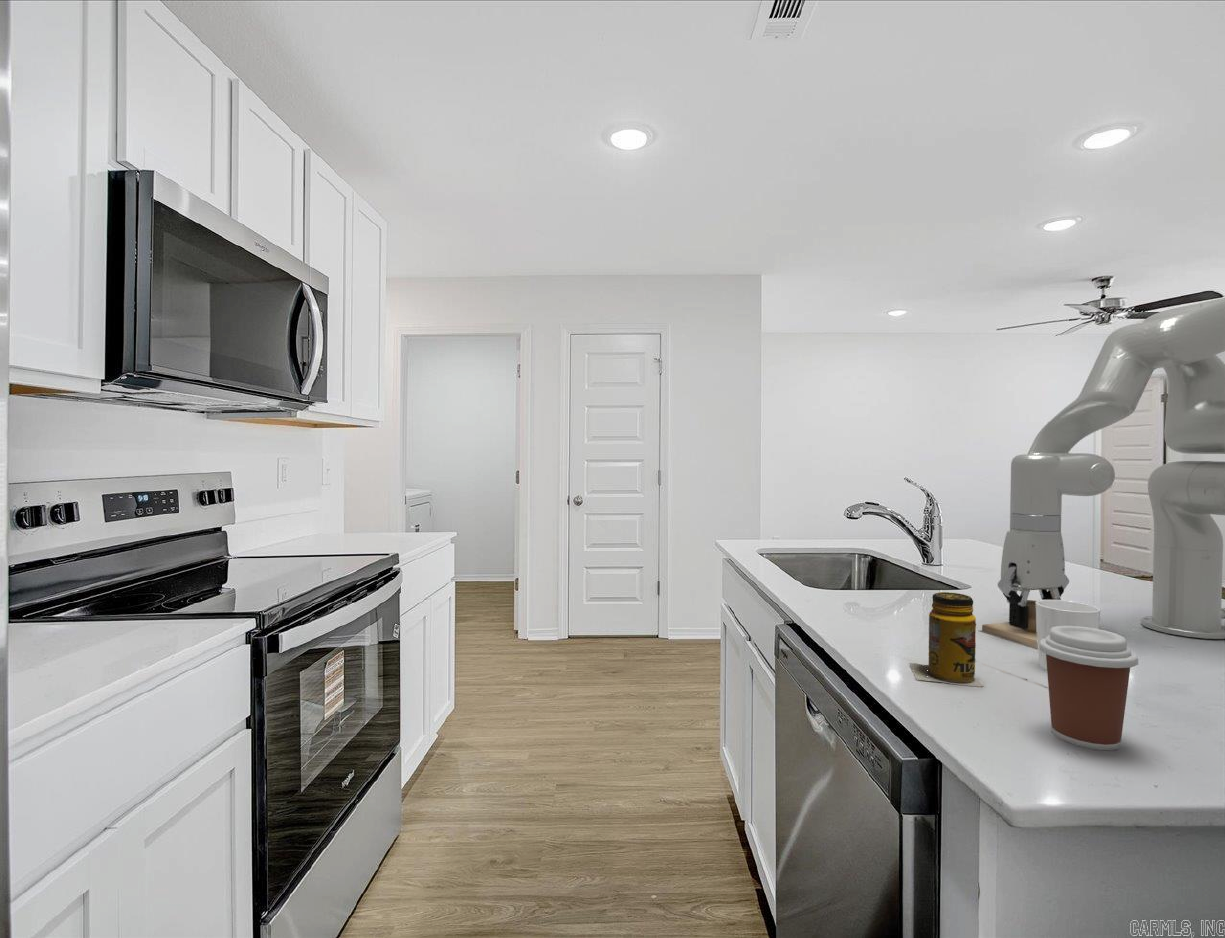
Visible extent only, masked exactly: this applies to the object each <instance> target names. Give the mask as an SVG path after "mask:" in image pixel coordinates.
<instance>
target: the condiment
mask: <svg viewBox="0 0 1225 938" xmlns="http://www.w3.org/2000/svg"><path fill="white" fill-rule="evenodd" d="M931 598H932V603H931V607H932V609H931V611H930V612H929V616H928V664H921V663H916V662H909V666H910V668H911V671H912V670H914V671H912V673H914V674H913V676H914V677H915V678H916V681H925V682H935V683H946V684H949V685H950V684H951V685H957V686H958V685H959V686H969V687H971V686H972V687H978V688H979V687H980V688H981V687H984V685H983V684H982V683H981V682H980V680H979V679H978V678H977V677H976V675H975V674H976V670H975V669H976V646H977V645H976V635H977V634H976V633H977V632H976V626H977V623H976V621H977V619H976V617H975V615H974V614H973V613H974V599H973V598H972V597H971V596H970V595H967V594H963V593H959V592H946V591H943V592H941V591H940V592H935V593H934V594H932V596H931ZM927 670H928V671H927ZM927 676H928V677H927Z"/></svg>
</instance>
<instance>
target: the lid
mask: <svg viewBox="0 0 1225 938" xmlns="http://www.w3.org/2000/svg"><path fill="white" fill-rule="evenodd" d="M1036 601H1037V600H1031V599H1027V602H1026V605H1025V606H1028V608H1029V615H1028V629H1021V628H1018V627H1014V626H1011V625H1010V624H1009V621H1005V622H996V623H987V624H981V630H982V631H983V632H986V633H989V634H993V635H996V636H999V637H1002V638H1006V639H1009V640H1012V641H1015V642H1019V643H1022V644H1025V645H1028V646H1032V647H1035V648H1037V632H1036V603H1035V602H1036ZM986 633H985V634H986ZM989 634H988V635H989ZM999 637H998V638H999ZM1002 638H1001V639H1002ZM1015 642H1014V643H1015ZM1028 646H1027V647H1028Z"/></svg>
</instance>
